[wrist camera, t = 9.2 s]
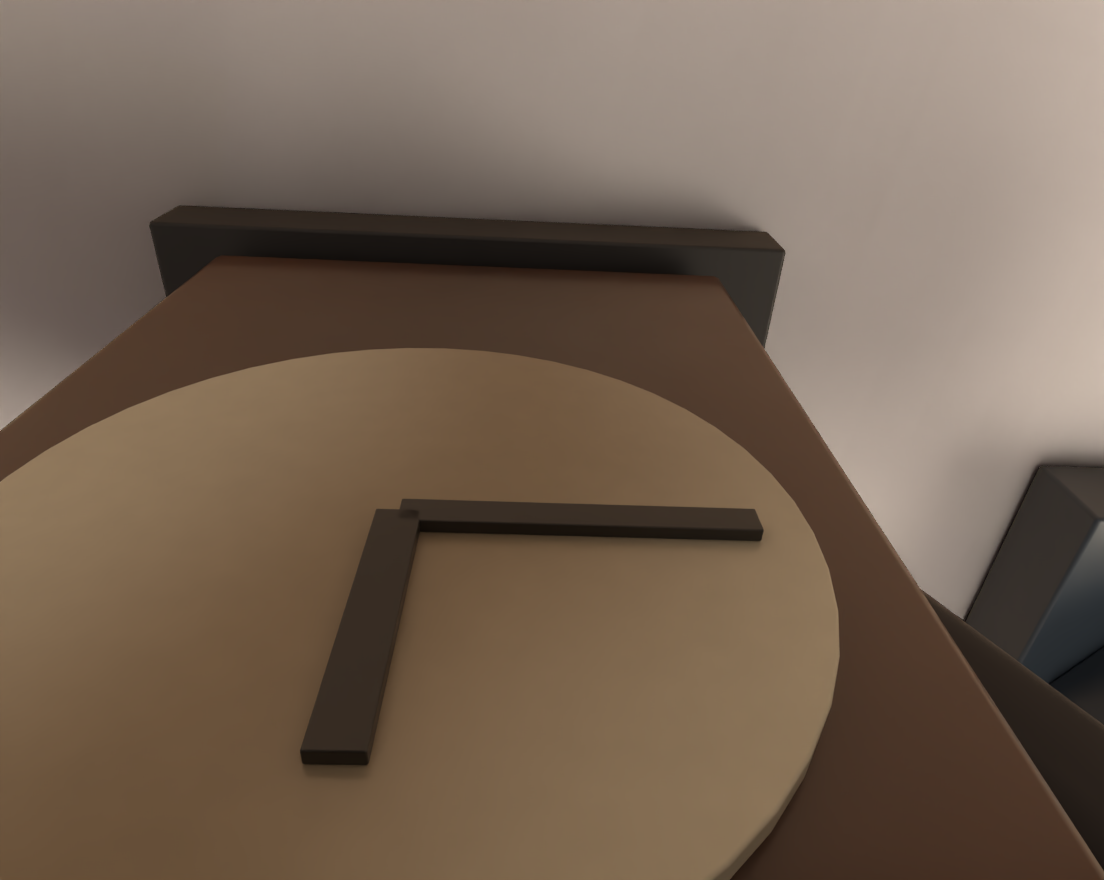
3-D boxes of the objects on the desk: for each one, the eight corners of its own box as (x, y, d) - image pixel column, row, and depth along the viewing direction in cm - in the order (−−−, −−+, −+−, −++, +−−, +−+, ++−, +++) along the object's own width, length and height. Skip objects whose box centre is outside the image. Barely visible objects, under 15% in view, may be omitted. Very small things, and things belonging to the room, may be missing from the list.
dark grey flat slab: (311, 825, 19) (300, 864, 18) (177, 204, 11) (146, 222, 10) (646, 829, 20) (651, 867, 19) (768, 230, 11) (787, 249, 10)
